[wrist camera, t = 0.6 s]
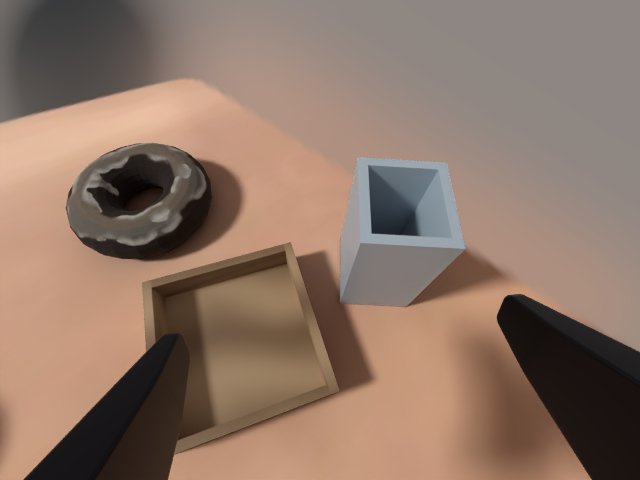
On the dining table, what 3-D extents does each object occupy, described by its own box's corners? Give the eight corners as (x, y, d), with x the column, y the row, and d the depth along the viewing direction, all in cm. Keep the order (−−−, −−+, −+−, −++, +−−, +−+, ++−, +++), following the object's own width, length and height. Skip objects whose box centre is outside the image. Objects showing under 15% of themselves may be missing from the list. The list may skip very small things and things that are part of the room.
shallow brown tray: (335, 392, 21) (339, 390, 19) (172, 454, 19) (153, 462, 17) (291, 257, 26) (290, 242, 24) (159, 295, 24) (142, 282, 22)
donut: (192, 149, 32) (179, 118, 29) (234, 231, 28) (224, 206, 24) (76, 189, 29) (44, 160, 26) (101, 290, 24) (67, 271, 21)
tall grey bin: (405, 306, 25) (465, 248, 15) (339, 303, 25) (360, 242, 15) (399, 243, 28) (446, 162, 18) (340, 239, 27) (357, 157, 18)
